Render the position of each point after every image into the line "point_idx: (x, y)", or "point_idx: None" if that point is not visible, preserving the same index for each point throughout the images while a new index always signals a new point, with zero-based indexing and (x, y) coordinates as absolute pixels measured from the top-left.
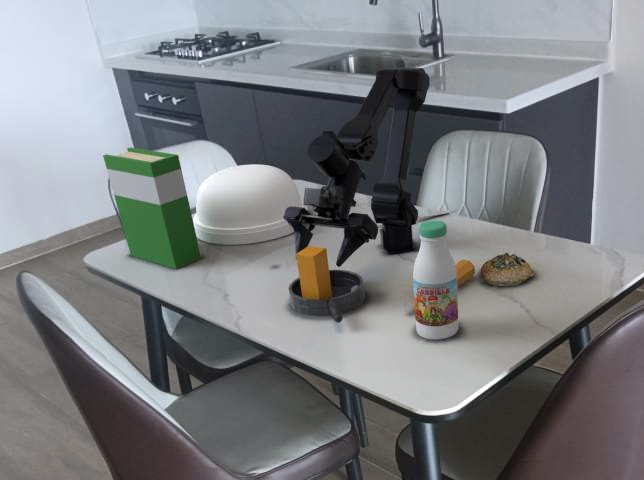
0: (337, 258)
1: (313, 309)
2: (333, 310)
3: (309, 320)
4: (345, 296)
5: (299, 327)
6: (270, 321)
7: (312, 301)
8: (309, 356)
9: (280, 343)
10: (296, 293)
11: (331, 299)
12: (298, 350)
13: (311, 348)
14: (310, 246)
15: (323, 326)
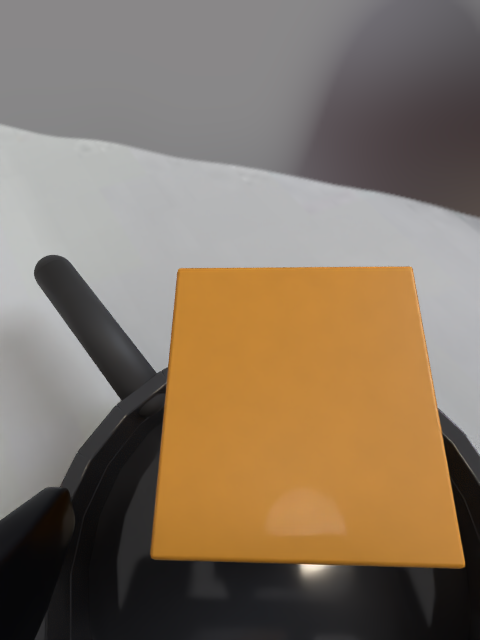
0: (29, 520)
1: None
2: (83, 294)
3: None
4: (81, 449)
5: None
6: None
7: None
8: (119, 162)
9: (249, 188)
10: (464, 529)
11: (138, 382)
12: (169, 175)
13: (135, 196)
14: (418, 545)
15: (167, 328)
